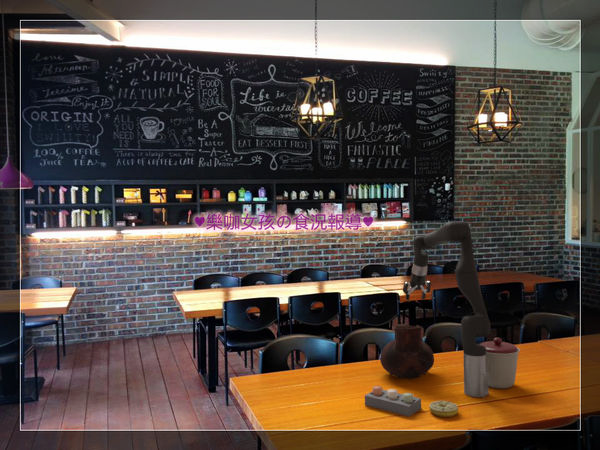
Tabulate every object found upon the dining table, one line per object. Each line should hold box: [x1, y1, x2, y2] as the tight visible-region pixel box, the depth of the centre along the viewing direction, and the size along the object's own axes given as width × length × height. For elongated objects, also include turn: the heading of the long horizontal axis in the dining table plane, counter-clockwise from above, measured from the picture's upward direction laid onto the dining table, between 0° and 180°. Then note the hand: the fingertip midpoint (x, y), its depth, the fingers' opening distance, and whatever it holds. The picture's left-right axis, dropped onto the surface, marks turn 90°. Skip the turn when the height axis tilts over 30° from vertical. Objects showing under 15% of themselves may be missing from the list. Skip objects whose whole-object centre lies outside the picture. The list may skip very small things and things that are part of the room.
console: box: [364, 388, 422, 417], centre depth 212 cm, size 20×10×4 cm, turn 50°
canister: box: [479, 337, 521, 390], centre depth 233 cm, size 18×18×21 cm
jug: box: [380, 323, 435, 380], centre depth 249 cm, size 25×25×25 cm
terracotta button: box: [372, 385, 383, 396], centre depth 216 cm, size 4×4×4 cm
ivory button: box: [387, 388, 399, 400], centre depth 211 cm, size 4×4×4 cm
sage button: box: [402, 392, 414, 404], centre depth 207 cm, size 4×4×4 cm
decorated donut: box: [428, 400, 459, 419], centre depth 204 cm, size 10×11×4 cm
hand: (415, 299), depth 277 cm, fingers open, 8 cm apart
